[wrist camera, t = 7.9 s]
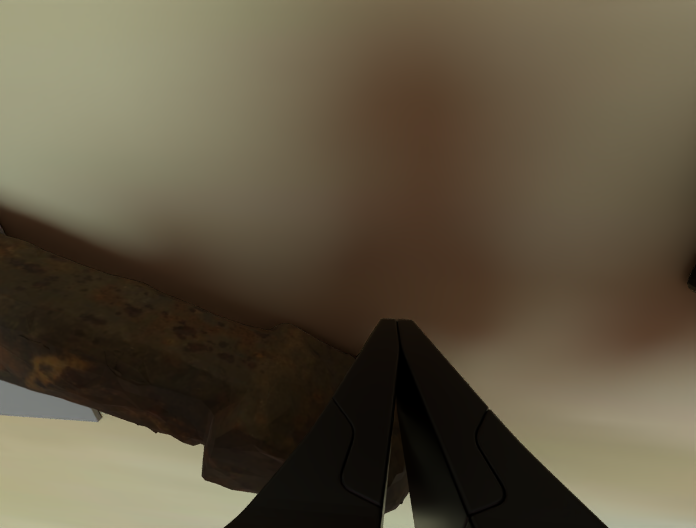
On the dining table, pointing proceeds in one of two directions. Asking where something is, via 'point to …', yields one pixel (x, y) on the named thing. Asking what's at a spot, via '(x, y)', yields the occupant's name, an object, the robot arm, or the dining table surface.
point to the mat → (41, 403)
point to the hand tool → (169, 366)
